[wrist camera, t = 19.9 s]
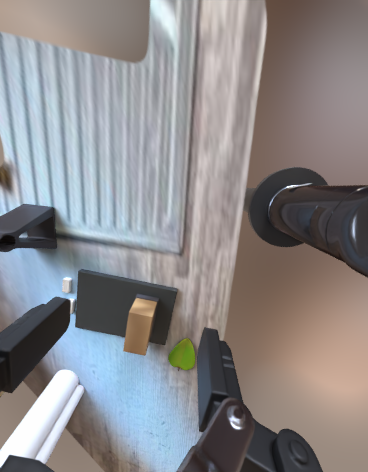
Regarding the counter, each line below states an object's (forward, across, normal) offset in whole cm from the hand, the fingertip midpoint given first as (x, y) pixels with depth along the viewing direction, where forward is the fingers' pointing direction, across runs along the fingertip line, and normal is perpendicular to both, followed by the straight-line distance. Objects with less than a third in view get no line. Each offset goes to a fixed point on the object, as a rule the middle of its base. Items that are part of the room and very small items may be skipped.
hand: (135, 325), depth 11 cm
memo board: (+28, +8, +22) cm, 36 cm away
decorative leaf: (+28, -8, +32) cm, 43 cm away
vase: (+28, +20, +50) cm, 61 cm away
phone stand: (+28, +28, +6) cm, 40 cm away
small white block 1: (+27, +22, +18) cm, 39 cm away
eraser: (+27, +3, +22) cm, 35 cm away
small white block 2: (+27, +21, +24) cm, 42 cm away
